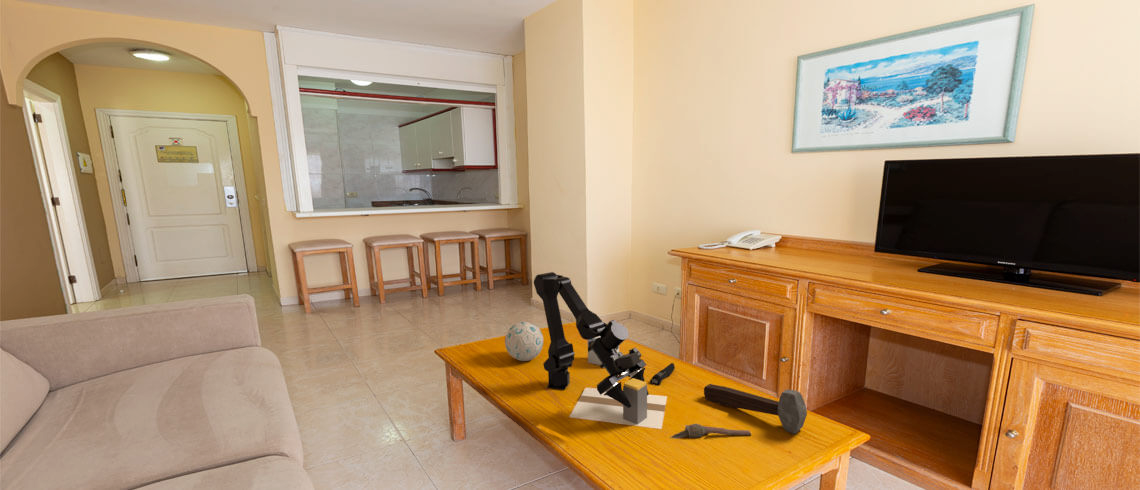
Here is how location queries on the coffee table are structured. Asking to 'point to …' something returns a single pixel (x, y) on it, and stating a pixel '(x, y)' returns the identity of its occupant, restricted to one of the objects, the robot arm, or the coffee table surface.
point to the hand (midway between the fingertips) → (639, 401)
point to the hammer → (763, 404)
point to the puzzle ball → (524, 341)
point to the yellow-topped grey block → (635, 401)
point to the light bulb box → (592, 356)
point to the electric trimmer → (662, 374)
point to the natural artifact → (706, 431)
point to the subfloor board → (617, 409)
